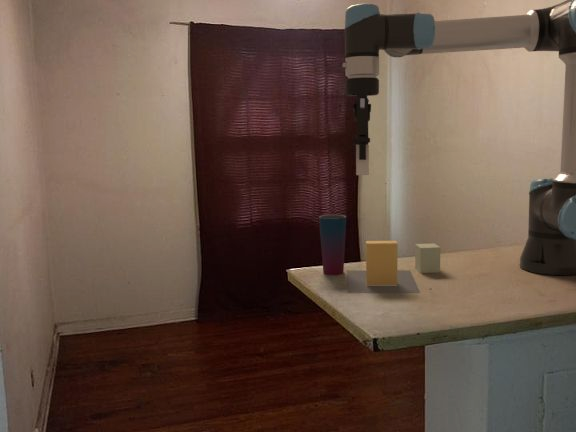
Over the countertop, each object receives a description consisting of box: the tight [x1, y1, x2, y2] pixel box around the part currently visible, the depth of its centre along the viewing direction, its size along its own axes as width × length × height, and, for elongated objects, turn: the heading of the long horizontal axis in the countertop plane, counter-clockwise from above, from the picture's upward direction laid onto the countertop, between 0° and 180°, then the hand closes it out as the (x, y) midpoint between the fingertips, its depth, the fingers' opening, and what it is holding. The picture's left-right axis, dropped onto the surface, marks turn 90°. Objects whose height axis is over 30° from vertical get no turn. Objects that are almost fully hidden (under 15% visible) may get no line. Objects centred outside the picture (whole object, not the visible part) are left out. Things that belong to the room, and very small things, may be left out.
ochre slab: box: [365, 240, 398, 286], centre depth 137 cm, size 7×3×10 cm, turn 85°
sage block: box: [414, 242, 441, 274], centre depth 149 cm, size 5×5×7 cm
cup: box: [318, 214, 347, 276], centre depth 149 cm, size 7×7×15 cm
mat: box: [346, 269, 421, 294], centre depth 141 cm, size 16×20×1 cm
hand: (362, 172), depth 135 cm, fingers open, 13 cm apart
